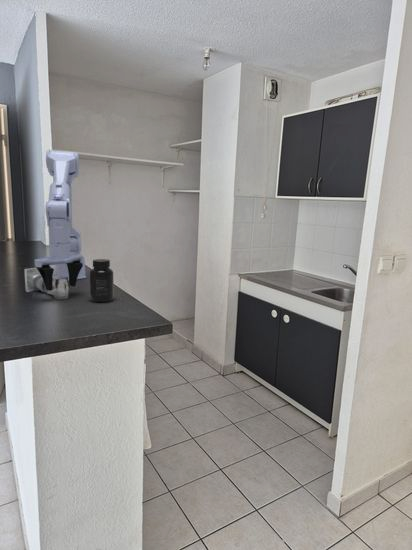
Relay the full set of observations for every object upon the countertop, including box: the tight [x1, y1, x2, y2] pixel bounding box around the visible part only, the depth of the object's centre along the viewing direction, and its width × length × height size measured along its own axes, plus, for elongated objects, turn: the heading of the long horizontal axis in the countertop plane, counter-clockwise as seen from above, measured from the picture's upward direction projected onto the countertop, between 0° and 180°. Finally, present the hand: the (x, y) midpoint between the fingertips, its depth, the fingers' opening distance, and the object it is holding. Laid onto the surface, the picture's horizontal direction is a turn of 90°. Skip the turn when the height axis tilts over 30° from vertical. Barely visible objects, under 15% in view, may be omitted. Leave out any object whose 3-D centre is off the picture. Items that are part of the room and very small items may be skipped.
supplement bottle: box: [89, 258, 115, 303], centre depth 111 cm, size 7×7×12 cm
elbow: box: [44, 276, 69, 300], centre depth 113 cm, size 8×4×6 cm, turn 51°
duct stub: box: [24, 267, 54, 294], centre depth 117 cm, size 6×8×7 cm
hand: (61, 287), depth 111 cm, fingers open, 7 cm apart
